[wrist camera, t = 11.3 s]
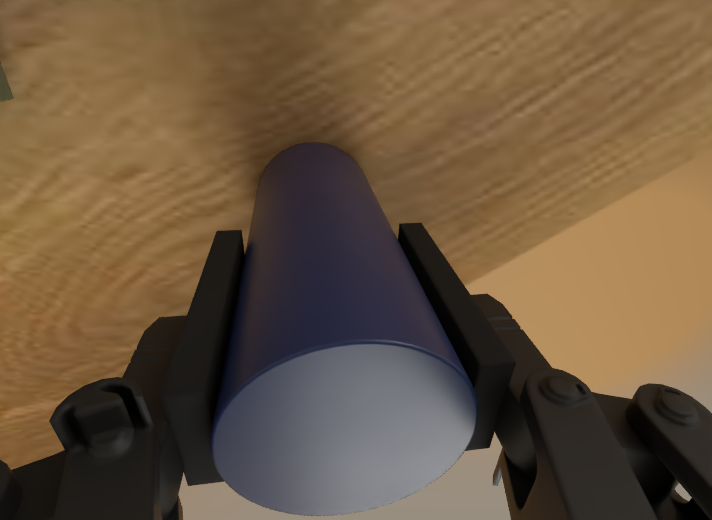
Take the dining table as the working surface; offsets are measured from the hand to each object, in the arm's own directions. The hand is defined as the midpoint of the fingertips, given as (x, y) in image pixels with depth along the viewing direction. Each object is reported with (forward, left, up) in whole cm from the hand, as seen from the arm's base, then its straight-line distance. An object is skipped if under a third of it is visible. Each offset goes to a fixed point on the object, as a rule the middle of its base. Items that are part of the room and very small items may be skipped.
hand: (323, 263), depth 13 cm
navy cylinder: (0, 0, -6) cm, 6 cm away
